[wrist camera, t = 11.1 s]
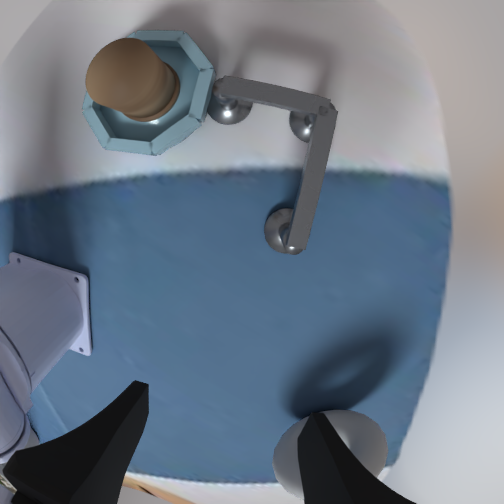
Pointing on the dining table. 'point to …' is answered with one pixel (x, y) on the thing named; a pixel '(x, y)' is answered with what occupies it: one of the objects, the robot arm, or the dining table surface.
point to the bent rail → (305, 128)
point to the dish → (182, 113)
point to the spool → (132, 80)
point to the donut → (351, 432)
